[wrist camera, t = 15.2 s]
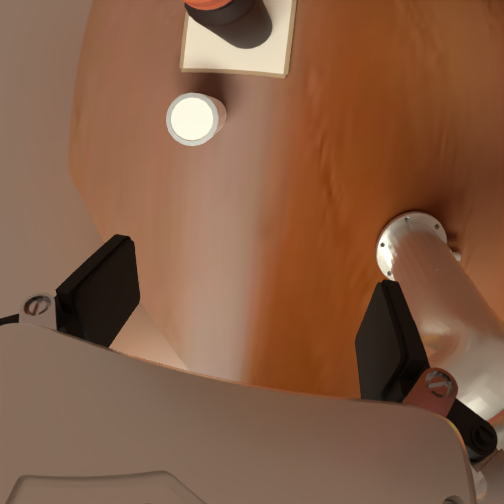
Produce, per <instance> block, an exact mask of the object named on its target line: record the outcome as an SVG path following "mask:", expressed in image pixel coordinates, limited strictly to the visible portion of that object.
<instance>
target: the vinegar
mask: <svg viewBox="0 0 504 504" xmlns="http://www.w3.org/2000/svg"><path fill="white" fill-rule="evenodd" d="M182 1H184V2H185V8H186V10H187V13H188V15H189V16H190V17H191V18H192V19H193V20H194V21H195V22H197V23H199V24H200V25H202V26H203V27H205V28H207V29H208V30H210V31H211V32H213V33H214V34H216V35H217V36H219V37H220V38H222V39H223V40H225V41H226V42H228V43H229V44H231V45H233V46H235V47H237V48H241V49H252V48H255V47H258V46H260V45H261V44H263V43H264V42H266V41H267V39H268V38H269V37H270V35H271V32H272V21H271V18H270V16H269V14H268V11H267V9H266V7H265V5H264V2H263V0H182Z"/></svg>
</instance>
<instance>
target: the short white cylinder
mask: <svg viewBox="0 0 504 504" xmlns="http://www.w3.org/2000/svg"><path fill="white" fill-rule="evenodd" d="M226 117H227V113H226V109H225V106H224V105H223V104H222V102H221V101H219V100H217V99H216V98H214V97H210V96H207V95H204V94H199V93H187V94H184V95H181V96H179V97H178V98H177V99H176V100H174V101H173V102H172V104H171V105H170V107H169V109H168V111H167V118H166V123H167V127H168V131H169V132H170V134H171V135H172V136H173V138H174V139H175V140H177V141H178V142H180V143H181V144H183V145H190V146H195V145H199V144H203V143H205V142H206V141H207V140H209V139H210V138H211V137H213V136H214V135H215V134H216V133H217V132H218V131H219V130H220V129H222V127H223V126H224V124H225V122H226Z"/></svg>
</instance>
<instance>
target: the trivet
mask: <svg viewBox="0 0 504 504" xmlns="http://www.w3.org/2000/svg"><path fill="white" fill-rule="evenodd" d="M263 2H264V5H265V7H266V9H267V11H268V14H269V16H270V18H271V21H272V32H271V35H270V37H269V38H268V39H267V41H266V42H264V43H263V44H261V45H260V46H258V47H255V48H252V49H241V48H237V47H235V46H233V45H231V44H229V43H228V42H226V41H225V40H223V39H222V38H220V37H219V36H217V35H216V34H214V33H213V32H211V31H210V30H208V29H207V28H205V27H203V26H202V25H200V24H199V23H197V22H195V21H194V20H193V19H192V18H191V17H190V16H189V15H188V13H187V10H186V15H185V23H184V31H183V39H182V48H181V58H180V69H181V72H182V73H224V74H241V75H254V76H264V77H274V78H282V79H285V78H286V75H288V72H289V64H290V56H291V47H292V39H293V30H294V21H295V13H296V4H297V0H263Z"/></svg>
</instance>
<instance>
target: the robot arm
mask: <svg viewBox="0 0 504 504" xmlns="http://www.w3.org/2000/svg"><path fill="white" fill-rule="evenodd" d="M406 217H407V219H405V218H406ZM435 225H436V226H435ZM382 242H383V243H382ZM375 252H376V260H377V263H378V266H379V268H380V270H381V271H382V273H383V274H384V275H385V276H386V277H387V278H389V279H390V280H385V279H384V280H383V281H382V282H381V283H380V282H378V283H377V285H376V287H375V290H374V293H373V295H372V298H371V301H370V303H369V306H368V308H367V311H366V313H365V316H364V318H363V321H362V323H361V326H360V328H359V330H358V333H357V335H356V339H355V347H356V355H357V364H358V372H359V382H360V392H361V399H356V398H345V397H336V396H327V395H318V394H310V393H302V392H295V391H288V390H282V389H275V388H269V387H263V386H258V385H252V384H247V383H241V382H236V381H231V380H226V379H222V378H217V377H212V376H208V375H203V374H199V373H195V372H191V371H187V370H182V369H178V368H175V367H171V366H167V365H164V364H160V363H156V362H152V361H149V360H145V359H142V358H139V357H135V356H132V355H128V354H125V353H122V352H119V351H116V350H113V349H110V348H109V346H110V345H111V343H112V342H113V340H114V339H115V337H116V336H117V334H118V333H119V331H120V330H121V328H122V327H123V325H124V324H125V323H126V321H127V320H128V318H129V317H130V315H131V314H132V312H133V311H134V310H135V308H136V307H137V305H138V304H139V301H140V290H139V282H138V274H137V265H136V255H135V245H134V242H133V241H132V240H131V238H130V237H129V236H124V235H118V234H116V235H114V236H113V237H112V238H111V239H109V240H108V241H107V242H106V243H105V244H104V245H103V246H102V247H100V248H99V249H98V250H97V251H96V252H95V253H94V254H93V255H92V256H91V257H90V258H88V259H87V260H86V261H85V262H84V263H83V264H82V265H81V266H80V267H79V268H78V269H77V270H75V271H74V272H73V273H72V274H71V275H70V276H69V277H68V278H67V279H66V280H65V281H64V282H63V283H62V284H61V285H60V286H59V287H58V288H57V289H56V293H57V295H56V296H55V297H53V296H52V295H50V294H48V293H37V294H34V295H31V296H29V297H28V298H26V299H25V300H24V301H23V303H22V304H21V307H20V313H19V314H16V315H12V316H9V317H4V318H1V319H0V504H504V415H503V416H501V417H499V418H498V419H497V420H495V421H494V422H492V423H490V424H489V423H488V422H487V421H488V420H489V419H491V418H492V417H493V416H495V415H496V414H498V413H499V412H500V411H502V410H503V409H504V322H503V321H502V320H501V319H500V317H499V316H498V315H497V314H496V313H495V311H494V310H493V309H492V308H491V307H490V305H489V304H488V303H487V301H486V300H485V298H484V297H483V296H482V294H481V293H480V292H479V290H478V289H477V287H476V286H475V284H474V283H473V281H472V280H471V279H470V277H469V276H468V275H467V273H466V272H465V270H464V269H463V268H462V266H461V265H460V264H459V262H458V261H460V260H461V253H457V252H452V251H451V249H450V248H449V247H448V245H447V236H446V233H445V230H444V228H443V227H442V225H441V224H440V222H439V221H438V220H437V219H436V218H434V217H433V216H432V215H430V214H428V213H424V212H420V211H412V212H407V213H404V214H401V215H399V216H397V217H395V218H394V219H392V220H391V221H390V222H389V223H388V224H387V225H386V226H385V227H384V229H383V230H382V231H381V233H380V235H379V237H378V240H377V243H376V249H375ZM388 271H389V272H388ZM423 344H424V345H426V346H427V347H429V348H431V349H433V350H435V351H437V352H435V353H434V354H433V355H432V356H430V357H429V358H427V355H426V352H425V349H424V346H423Z"/></svg>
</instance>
